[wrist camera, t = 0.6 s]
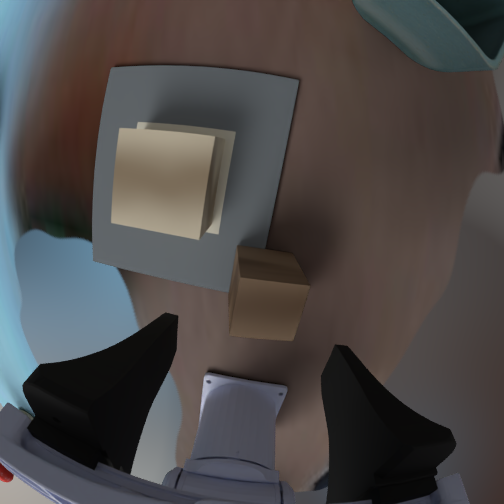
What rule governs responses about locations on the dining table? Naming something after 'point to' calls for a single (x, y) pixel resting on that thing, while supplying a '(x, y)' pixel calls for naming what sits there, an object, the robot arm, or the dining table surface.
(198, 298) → the dining table surface
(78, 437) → the robot arm
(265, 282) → the walnut block
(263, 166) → the build mat
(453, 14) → the flower pot
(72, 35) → the dining table surface
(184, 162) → the base block
